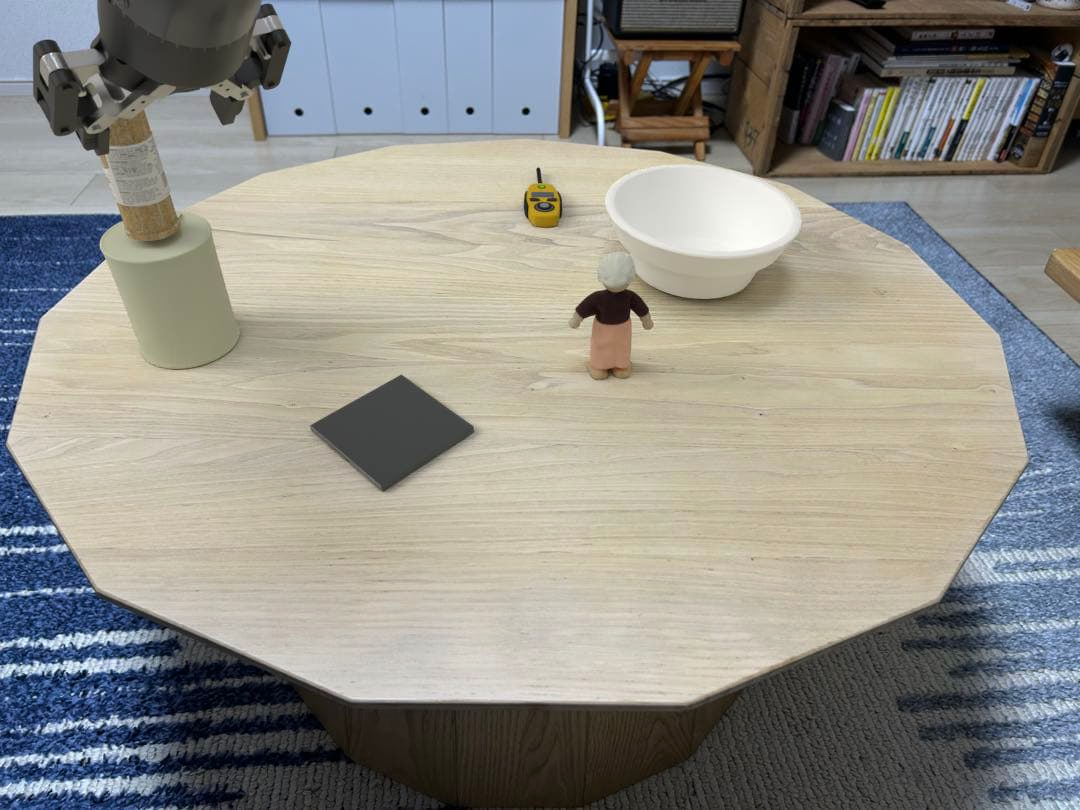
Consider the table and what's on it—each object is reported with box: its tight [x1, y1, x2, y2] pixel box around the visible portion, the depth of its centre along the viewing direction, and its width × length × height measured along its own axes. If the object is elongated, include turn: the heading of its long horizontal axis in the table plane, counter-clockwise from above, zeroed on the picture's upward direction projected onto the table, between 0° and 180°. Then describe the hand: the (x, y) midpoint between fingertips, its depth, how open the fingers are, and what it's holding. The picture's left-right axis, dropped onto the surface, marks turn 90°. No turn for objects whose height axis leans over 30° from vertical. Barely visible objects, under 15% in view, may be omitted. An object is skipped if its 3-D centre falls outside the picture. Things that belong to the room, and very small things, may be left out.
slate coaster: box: [309, 374, 475, 492], centre depth 66 cm, size 10×10×1 cm
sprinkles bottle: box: [93, 87, 180, 241], centre depth 62 cm, size 5×5×14 cm
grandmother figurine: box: [568, 250, 655, 381], centre depth 70 cm, size 8×4×13 cm, turn 106°
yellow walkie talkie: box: [523, 167, 563, 228], centre depth 99 cm, size 5×2×15 cm
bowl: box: [604, 163, 803, 300], centre depth 85 cm, size 21×21×8 cm
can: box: [99, 210, 241, 370], centre depth 71 cm, size 9×9×12 cm
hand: (160, 126), depth 52 cm, fingers open, 8 cm apart
